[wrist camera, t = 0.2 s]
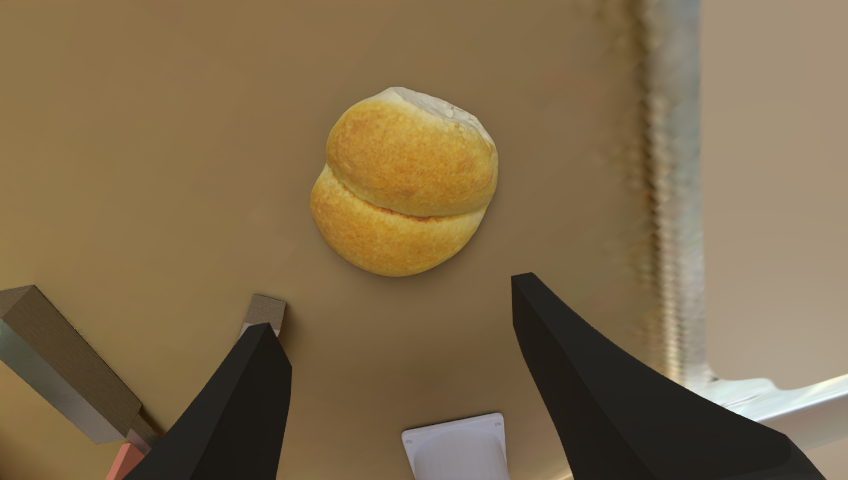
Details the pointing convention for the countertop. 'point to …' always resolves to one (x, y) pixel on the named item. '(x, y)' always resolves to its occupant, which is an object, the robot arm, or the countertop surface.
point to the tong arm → (264, 313)
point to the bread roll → (403, 182)
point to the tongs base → (68, 371)
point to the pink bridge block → (124, 462)
